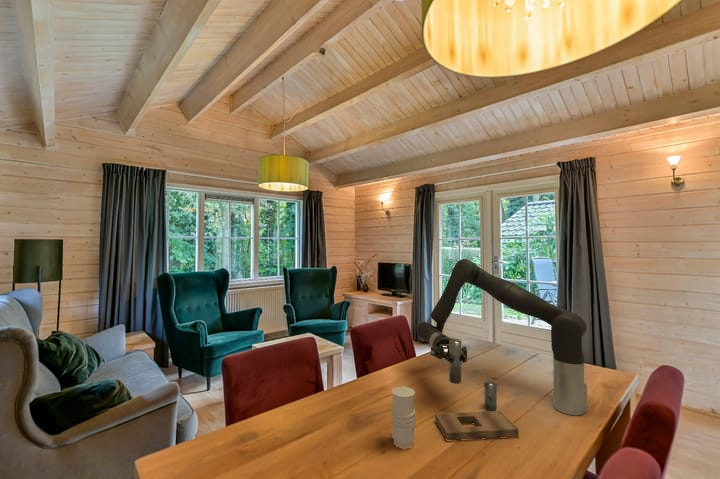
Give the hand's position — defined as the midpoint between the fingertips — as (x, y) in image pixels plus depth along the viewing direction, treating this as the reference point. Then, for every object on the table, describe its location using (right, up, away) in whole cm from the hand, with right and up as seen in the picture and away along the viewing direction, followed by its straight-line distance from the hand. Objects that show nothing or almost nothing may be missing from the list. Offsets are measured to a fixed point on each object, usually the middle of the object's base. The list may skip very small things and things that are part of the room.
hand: (458, 359), depth 114 cm
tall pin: (0, -8, +3) cm, 9 cm away
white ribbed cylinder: (-21, -19, -16) cm, 32 cm away
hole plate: (+3, -19, -9) cm, 21 cm away
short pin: (+13, -19, +4) cm, 23 cm away
